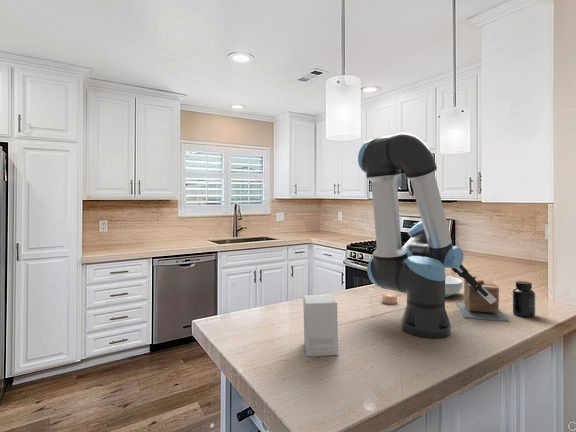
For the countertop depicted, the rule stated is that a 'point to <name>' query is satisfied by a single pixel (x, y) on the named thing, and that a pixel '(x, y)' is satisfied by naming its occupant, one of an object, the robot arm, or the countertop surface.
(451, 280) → the cereal bowl
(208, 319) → the countertop surface
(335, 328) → the supplement box
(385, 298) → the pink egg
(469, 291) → the walnut cover
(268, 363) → the countertop surface
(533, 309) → the supplement bottle
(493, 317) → the slate mat
